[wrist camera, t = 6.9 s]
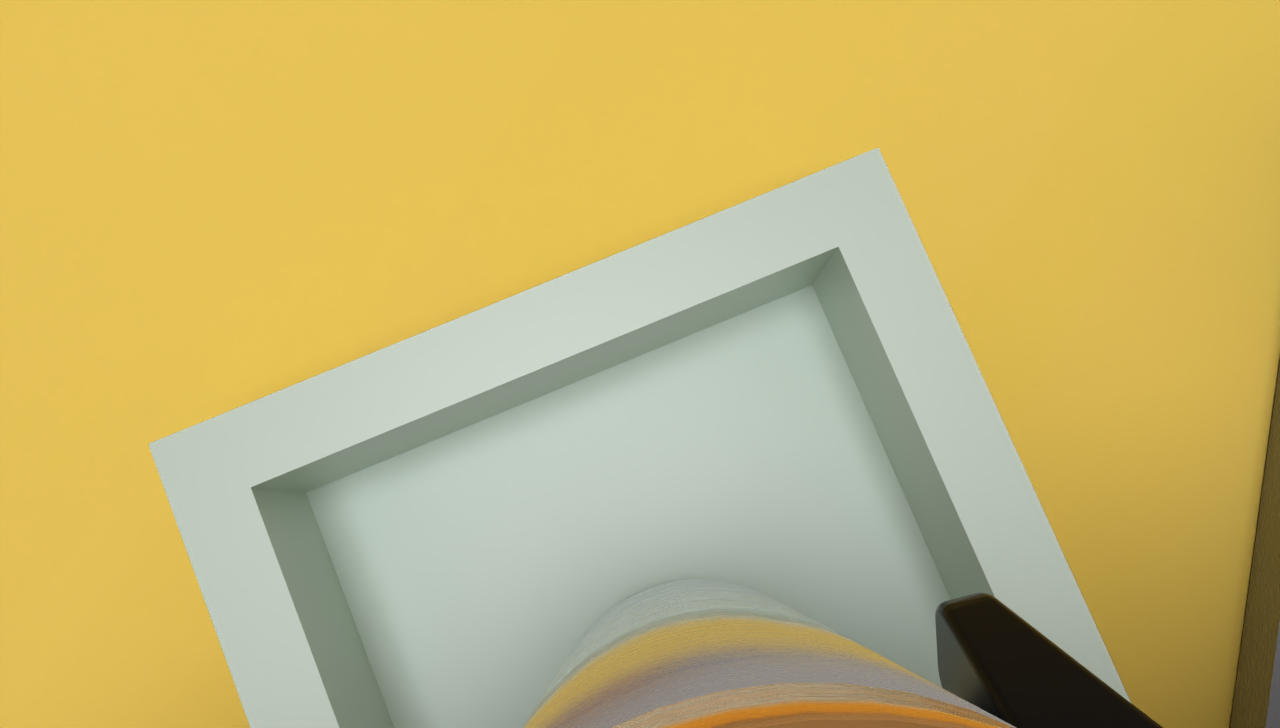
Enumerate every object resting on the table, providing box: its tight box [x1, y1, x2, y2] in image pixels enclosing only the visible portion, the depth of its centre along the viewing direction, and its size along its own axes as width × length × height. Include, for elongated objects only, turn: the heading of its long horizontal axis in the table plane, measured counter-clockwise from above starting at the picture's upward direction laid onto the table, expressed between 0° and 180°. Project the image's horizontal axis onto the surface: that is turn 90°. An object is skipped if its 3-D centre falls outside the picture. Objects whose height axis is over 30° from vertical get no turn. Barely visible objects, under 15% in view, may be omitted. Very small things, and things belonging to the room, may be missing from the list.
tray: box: [149, 148, 1131, 728], centre depth 16 cm, size 12×10×4 cm
